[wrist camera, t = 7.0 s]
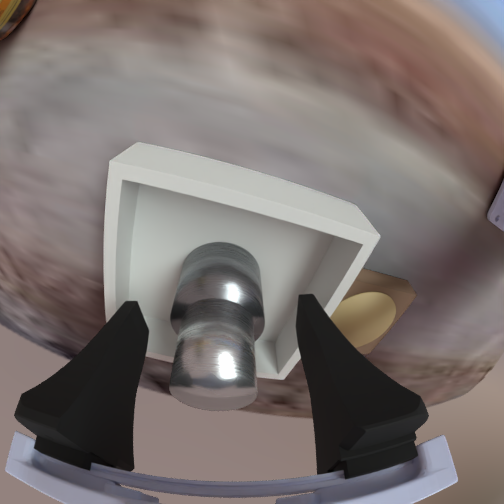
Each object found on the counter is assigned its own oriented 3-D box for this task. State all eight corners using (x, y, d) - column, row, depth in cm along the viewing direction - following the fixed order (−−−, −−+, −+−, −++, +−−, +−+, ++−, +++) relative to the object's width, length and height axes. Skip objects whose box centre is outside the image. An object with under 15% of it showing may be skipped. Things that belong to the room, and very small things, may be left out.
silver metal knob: (264, 299, 16) (274, 411, 10) (193, 307, 16) (177, 415, 10) (255, 236, 14) (265, 357, 8) (172, 247, 14) (136, 364, 8)
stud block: (407, 280, 17) (417, 296, 15) (363, 339, 20) (368, 355, 19) (334, 260, 16) (342, 278, 14) (293, 329, 19) (296, 348, 17)
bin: (355, 204, 14) (380, 236, 11) (278, 342, 19) (283, 379, 17) (137, 141, 11) (109, 160, 9) (122, 308, 17) (108, 345, 14)
